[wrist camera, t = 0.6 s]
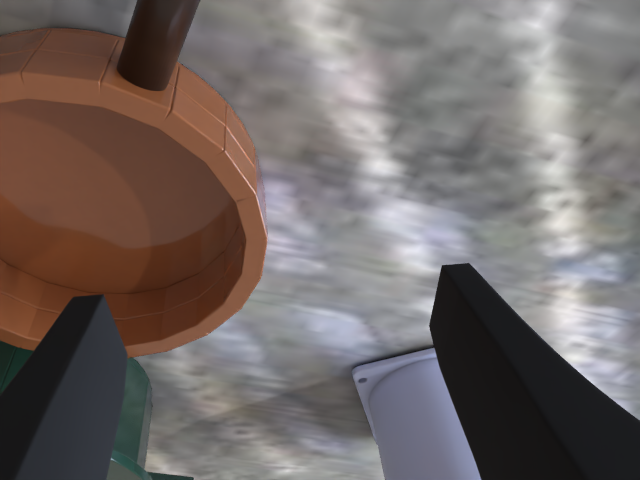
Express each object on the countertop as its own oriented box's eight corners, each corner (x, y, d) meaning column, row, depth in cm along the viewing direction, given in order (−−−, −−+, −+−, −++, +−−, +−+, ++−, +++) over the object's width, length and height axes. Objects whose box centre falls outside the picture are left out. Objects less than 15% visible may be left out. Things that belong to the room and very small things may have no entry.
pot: (158, 465, 36) (147, 562, 31) (-171, 425, 29) (-244, 542, 24) (231, 359, 29) (230, 463, 25) (-176, 271, 22) (-279, 397, 18)
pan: (198, 322, 27) (194, 382, 24) (-97, 252, 22) (-141, 318, 19) (317, 120, 20) (329, 172, 17) (-71, -50, 15) (-136, -12, 12)
